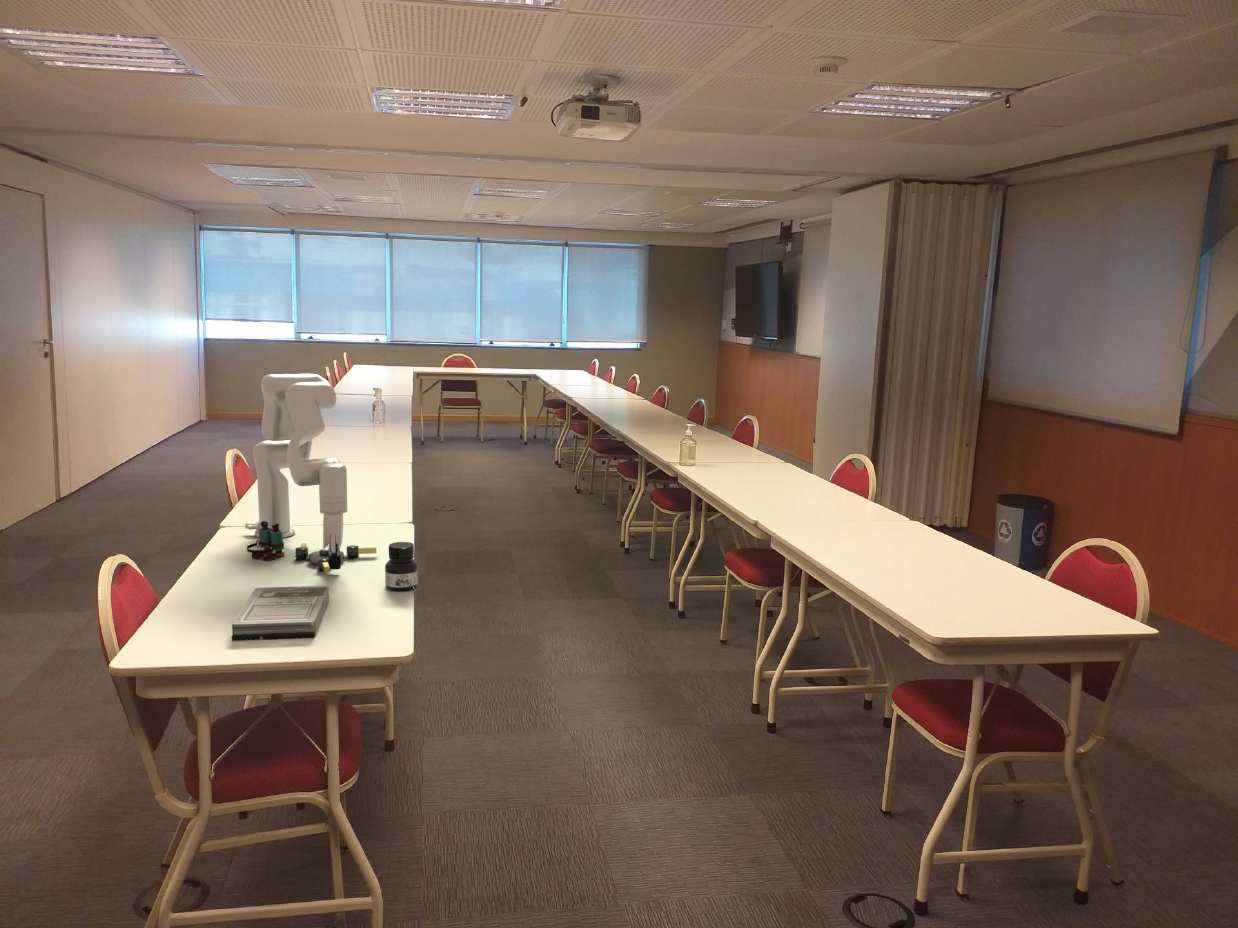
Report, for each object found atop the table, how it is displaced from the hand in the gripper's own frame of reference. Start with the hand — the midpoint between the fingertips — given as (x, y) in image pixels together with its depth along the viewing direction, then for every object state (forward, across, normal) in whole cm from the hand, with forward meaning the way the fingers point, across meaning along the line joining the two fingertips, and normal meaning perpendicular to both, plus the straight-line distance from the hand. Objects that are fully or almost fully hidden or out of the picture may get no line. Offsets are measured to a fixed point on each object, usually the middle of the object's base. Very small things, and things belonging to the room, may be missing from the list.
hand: (334, 568), depth 258 cm
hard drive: (+2, +37, -10) cm, 38 cm away
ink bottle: (+2, +15, +19) cm, 24 cm away
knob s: (+2, -1, -3) cm, 3 cm away
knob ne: (+2, -16, +7) cm, 18 cm away
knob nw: (+2, -19, -11) cm, 22 cm away
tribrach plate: (+2, -12, -3) cm, 13 cm away
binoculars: (+2, -19, -21) cm, 29 cm away
